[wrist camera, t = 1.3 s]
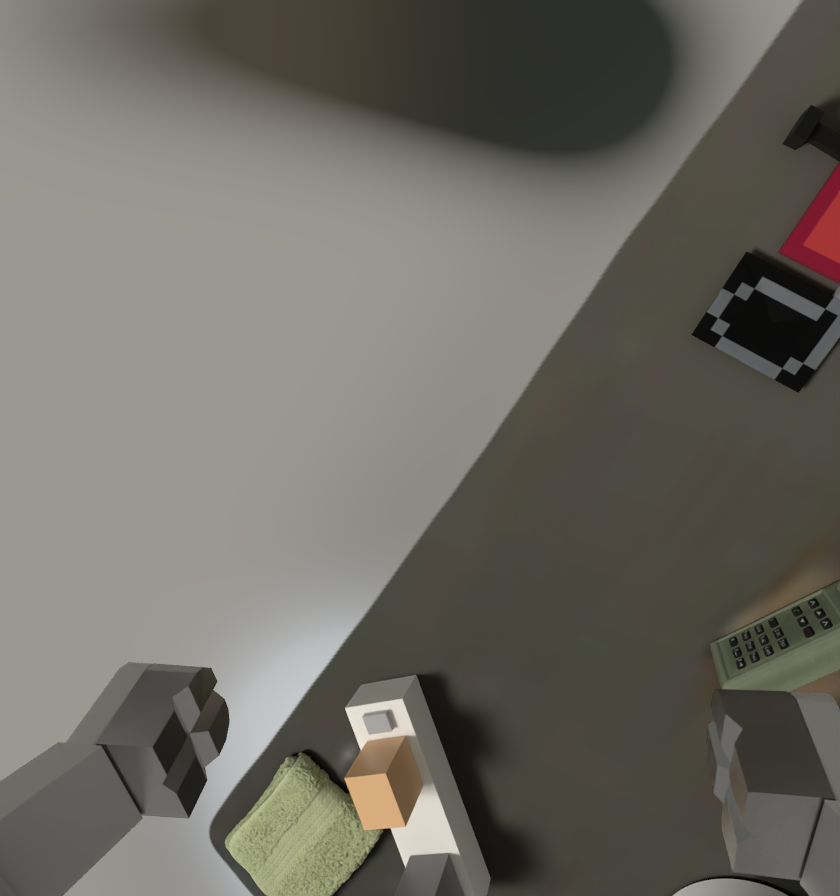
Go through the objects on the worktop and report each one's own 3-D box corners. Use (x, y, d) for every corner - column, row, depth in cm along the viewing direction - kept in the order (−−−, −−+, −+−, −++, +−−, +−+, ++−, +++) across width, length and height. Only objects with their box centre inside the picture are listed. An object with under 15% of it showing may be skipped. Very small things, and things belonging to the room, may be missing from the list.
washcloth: (226, 834, 73) (209, 856, 70) (300, 738, 67) (285, 758, 64) (314, 914, 72) (300, 940, 69) (398, 823, 66) (387, 848, 63)
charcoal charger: (471, 882, 61) (452, 951, 55) (434, 884, 63) (410, 951, 56) (454, 836, 61) (433, 900, 54) (417, 838, 62) (391, 901, 56)
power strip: (490, 878, 63) (480, 919, 59) (435, 881, 65) (421, 921, 61) (416, 674, 61) (400, 702, 57) (361, 684, 63) (342, 711, 59)
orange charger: (430, 769, 60) (405, 826, 53) (392, 774, 62) (364, 830, 55) (412, 722, 60) (385, 773, 53) (375, 727, 61) (344, 778, 54)
